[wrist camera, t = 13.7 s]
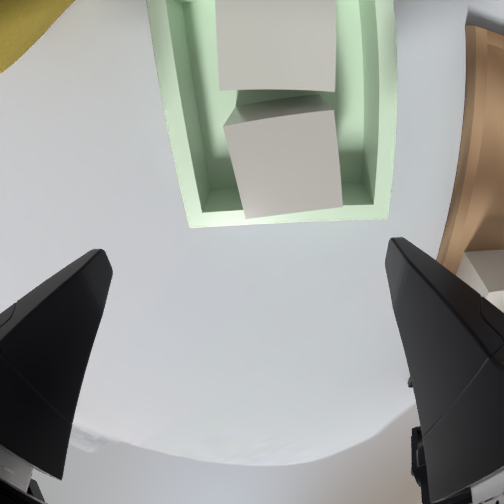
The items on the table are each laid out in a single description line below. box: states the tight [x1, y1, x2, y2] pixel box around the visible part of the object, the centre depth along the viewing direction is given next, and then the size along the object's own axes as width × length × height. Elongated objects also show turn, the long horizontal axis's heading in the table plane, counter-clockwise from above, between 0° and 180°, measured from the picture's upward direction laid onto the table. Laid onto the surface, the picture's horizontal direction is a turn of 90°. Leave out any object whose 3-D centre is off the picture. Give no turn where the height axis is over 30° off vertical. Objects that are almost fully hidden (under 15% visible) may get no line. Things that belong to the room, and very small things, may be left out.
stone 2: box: [215, 0, 336, 92], centre depth 10 cm, size 4×4×4 cm
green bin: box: [146, 0, 397, 228], centre depth 13 cm, size 12×10×3 cm
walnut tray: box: [436, 26, 504, 275], centre depth 15 cm, size 20×8×1 cm, turn 6°
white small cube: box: [223, 94, 343, 219], centre depth 13 cm, size 4×4×4 cm
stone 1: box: [456, 250, 504, 313], centre depth 17 cm, size 4×4×4 cm
